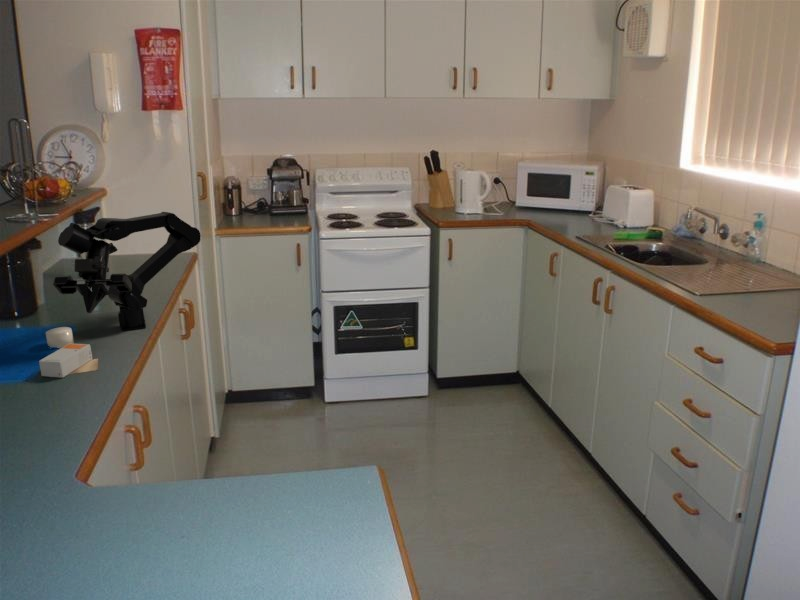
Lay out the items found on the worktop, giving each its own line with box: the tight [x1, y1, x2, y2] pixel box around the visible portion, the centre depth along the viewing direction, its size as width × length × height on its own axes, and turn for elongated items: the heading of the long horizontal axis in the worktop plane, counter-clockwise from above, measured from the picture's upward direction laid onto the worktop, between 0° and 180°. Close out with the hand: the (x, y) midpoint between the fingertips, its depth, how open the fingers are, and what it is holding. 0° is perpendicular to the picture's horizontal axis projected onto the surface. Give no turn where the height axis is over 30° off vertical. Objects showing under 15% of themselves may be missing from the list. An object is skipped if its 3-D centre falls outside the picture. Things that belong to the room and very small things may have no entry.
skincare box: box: [38, 343, 93, 379], centre depth 174 cm, size 6×4×12 cm
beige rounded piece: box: [45, 326, 75, 350], centre depth 190 cm, size 6×6×4 cm
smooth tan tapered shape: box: [67, 358, 99, 376], centre depth 175 cm, size 10×8×1 cm
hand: (88, 312), depth 182 cm, fingers closed
